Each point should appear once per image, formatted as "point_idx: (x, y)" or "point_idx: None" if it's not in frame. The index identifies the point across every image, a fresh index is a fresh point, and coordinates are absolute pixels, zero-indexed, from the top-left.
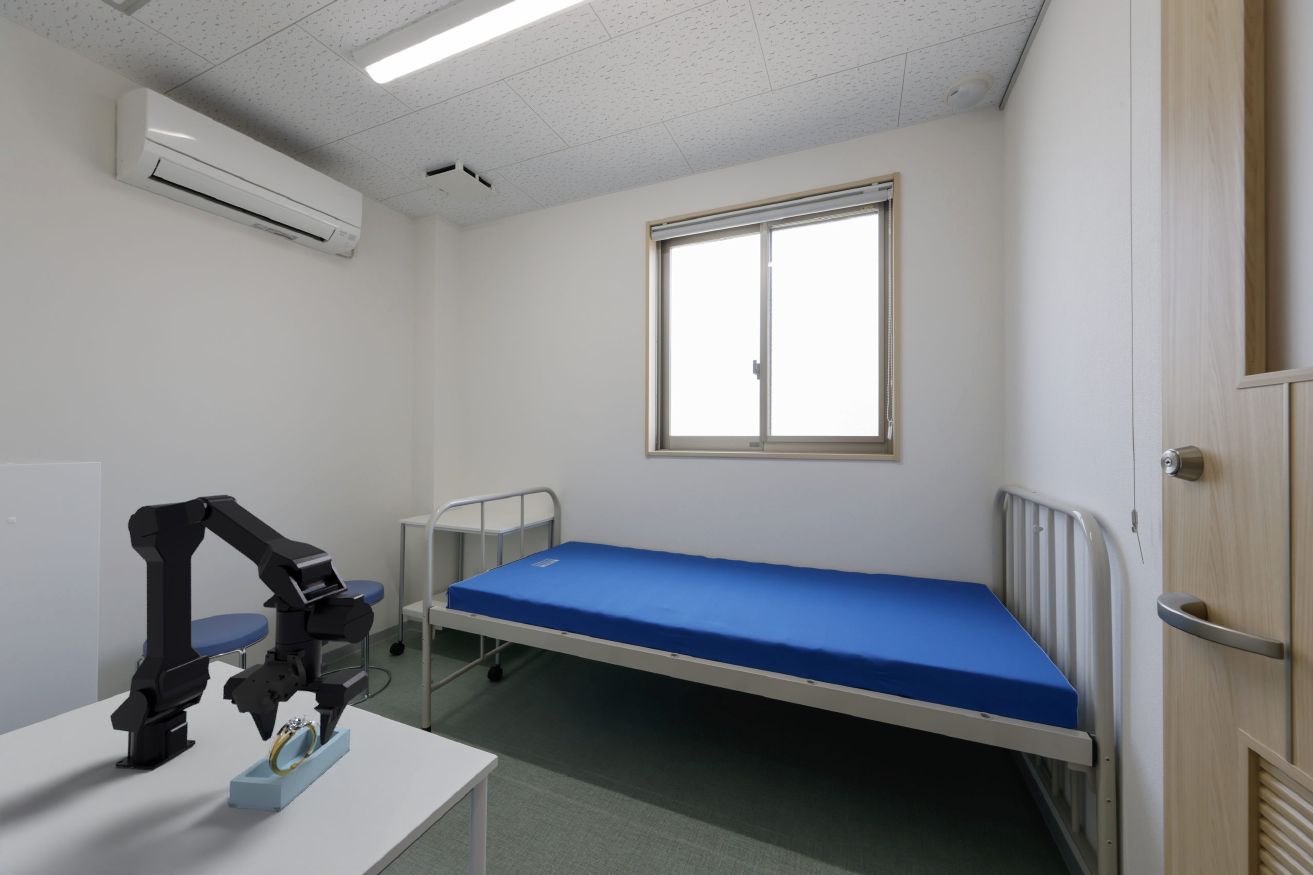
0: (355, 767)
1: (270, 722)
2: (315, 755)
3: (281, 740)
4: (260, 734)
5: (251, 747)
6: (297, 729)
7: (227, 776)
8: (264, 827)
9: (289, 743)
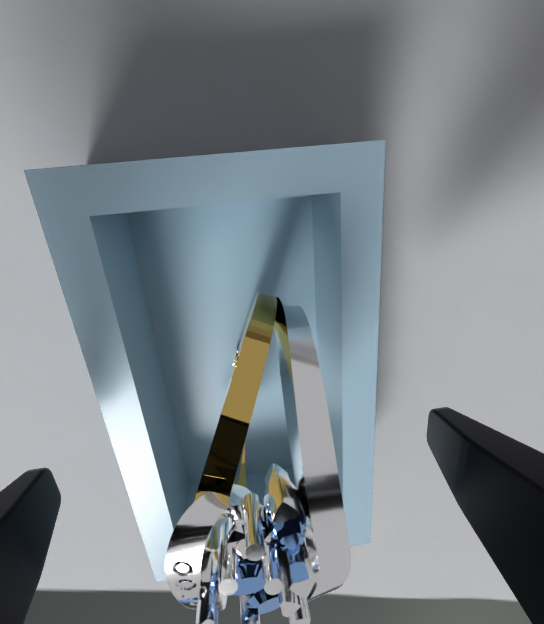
0: (51, 439)
1: (493, 517)
2: (112, 417)
3: (248, 409)
4: (485, 427)
5: (525, 419)
6: (178, 524)
7: (492, 290)
8: (47, 59)
9: (342, 447)
